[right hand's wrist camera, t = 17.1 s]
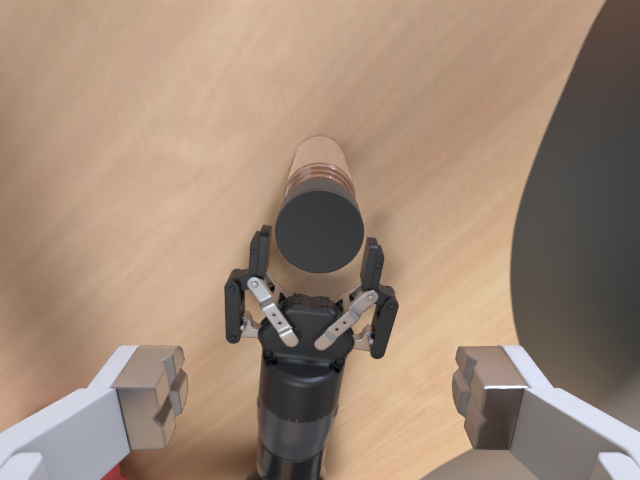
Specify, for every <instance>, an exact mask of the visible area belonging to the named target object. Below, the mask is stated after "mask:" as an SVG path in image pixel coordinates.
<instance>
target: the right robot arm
mask: <svg viewBox="0 0 640 480" xmlns="http://www.w3.org/2000/svg"><path fill="white" fill-rule="evenodd" d="M184 360H185V359H184V354H183V349H182V348H181V347H180V346H158V345H141V346H140V345H122V346H119V347H117V348H116V350H115V351H114V352H113V354H112V355H111V356H110V358H109V359H108V360H107V362H106V363H105V364H104V365H103V367H102V368H101V369H100V371H99V372H98V373H97V375H96V376H95V377H94V379H93V380H92V381H91V383H90V384H89V385H88V386H87V388H79V389H78V390H76V391H74V392H72V393H70V394H69V395H67V396H65V397H63V398H61V399H60V400H58V401H56V402H54V403H52V404H51V405H49V406H47V407H45V408H43V409H42V410H40V411H38V412H36V413H34V414H33V415H31V416H29V417H27V418H25V419H24V420H22V421H20V422H18V423H16V424H15V425H13V426H11V427H9V428H7V429H6V430H4V431H2V432H0V480H100V479H102V478H103V477H104V476H105V475H106V474H107V473H108V472H109V471H110V470H111V469H112V468H114V467H115V466H116V465H117V464H118V463H119V462H120V461H121V460H122V459H123V458H125V457H126V456H127V455H128V454H129V453H130V450H158V449H167V447H168V445H169V442H170V440H171V438H172V435H173V433H174V430H175V428H176V423H175V417H177V416H178V415H179V414H180V413H182V411H183V409H184V406H185V403H186V398H187V393H188V380H187V374H186V373H185V372H184V371H183V370H182V369H181V366H182V364H183V362H184ZM455 360H456V362H457V364H458V366H459V369H458V370H457V371H456V372H455V373H454V374H453V381H452V392H453V399H454V403H455V406H456V409H457V411H458V413H460V414H461V415H462V416H463V417H465V423H464V428H465V430H466V433H467V435H468V438H469V440H470V442H471V445H472V447H473V449H481V450H510V453H511V454H512V455H513V456H515V457H516V458H517V459H518V460H519V461H520V462H521V463H522V464H523V465H524V466H526V467H527V468H528V469H529V470H530V471H531V472H532V473H533V474H534V475H535V476H536V477H538V478H539V479H540V480H640V432H638V431H636V430H634V429H632V428H631V427H629V426H627V425H625V424H623V423H622V422H620V421H618V420H616V419H614V418H613V417H611V416H609V415H607V414H605V413H604V412H602V411H600V410H598V409H596V408H595V407H593V406H591V405H589V404H587V403H586V402H584V401H582V400H580V399H578V398H577V397H575V396H573V395H571V394H570V393H568V392H566V391H564V390H562V389H560V388H553V387H552V385H551V384H550V383H549V381H548V380H547V379H546V377H545V376H544V375H543V373H542V372H541V371H540V370H539V368H538V367H537V366H536V364H535V363H534V362H533V360H532V359H531V358H530V356H529V355H528V354H527V353H526V351H525V350H524V349H523V348H522V347H521V346H519V345H498V346H459V347H458V350H457V353H456V359H455Z"/></svg>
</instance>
